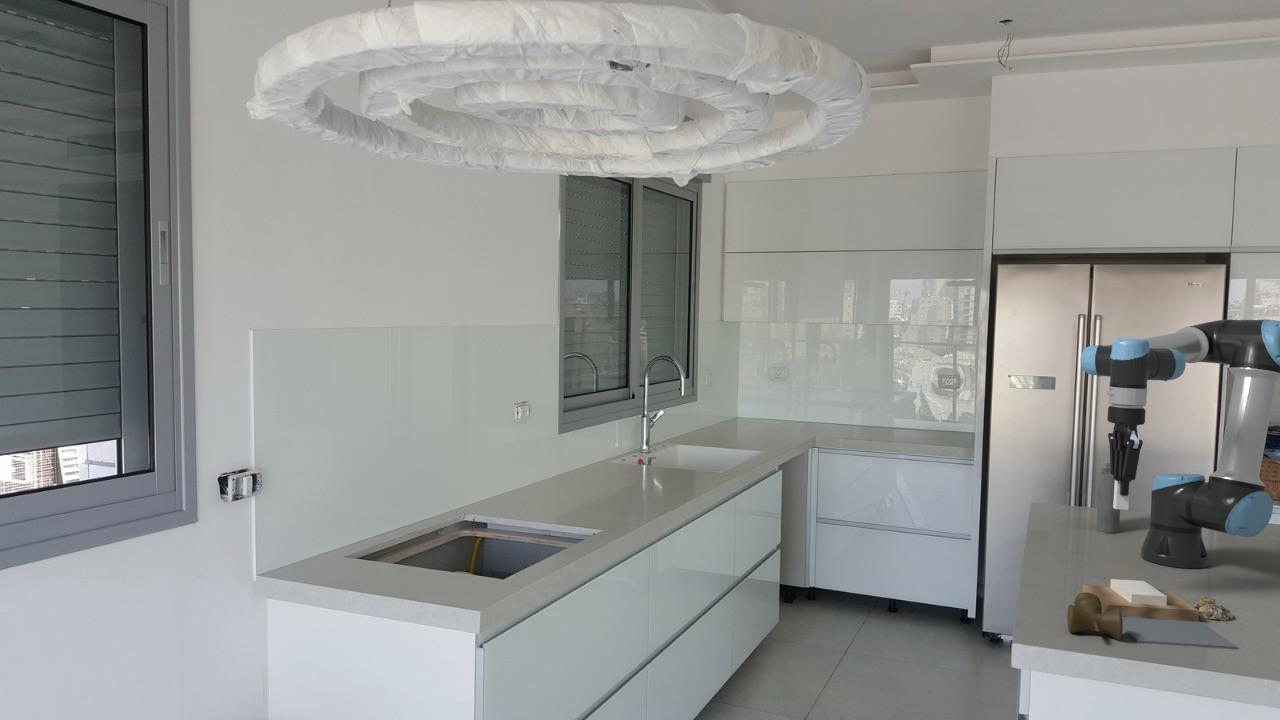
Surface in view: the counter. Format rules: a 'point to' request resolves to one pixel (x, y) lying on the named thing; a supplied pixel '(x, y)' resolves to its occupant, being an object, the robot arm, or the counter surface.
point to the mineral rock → (1212, 610)
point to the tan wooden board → (1144, 605)
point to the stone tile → (1138, 592)
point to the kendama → (1093, 616)
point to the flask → (1107, 503)
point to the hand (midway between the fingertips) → (1120, 508)
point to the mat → (1174, 632)
